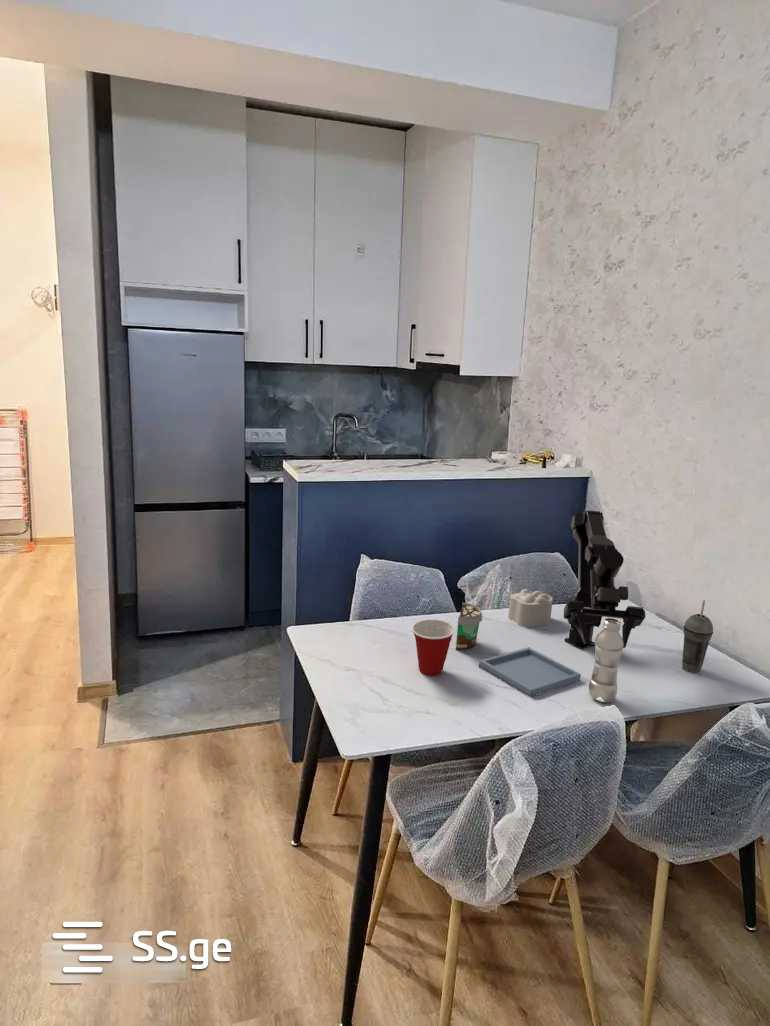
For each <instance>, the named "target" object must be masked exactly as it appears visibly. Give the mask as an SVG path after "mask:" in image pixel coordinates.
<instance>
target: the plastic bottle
mask: <svg viewBox="0 0 770 1026" xmlns="http://www.w3.org/2000/svg"><path fill="white" fill-rule="evenodd" d="M621 624H622V623H621V621H620V620H619V619H618V618H613V617H606V618H604V622H603V625H602V630H600V631H599V633H597V634H596V637H595V639H594V642H595V645H594V664H593V665H594V666H593V669H592V674H591V678H590V680H589V684H588V693H589V695H590V698H592V699H593V700H595V701H597V700H596V699H597V698H598V697H601V698H602V699H603V700H604V701H605V702H604V703H612V702H613V701H614V700H615V699H616V698H617V693H618V683H617V682H618V669H619V663H620V659H621V656H622V652H623V650H624V648H623V646H624V643H623V639H622V635H621V634H620V631H621Z"/></svg>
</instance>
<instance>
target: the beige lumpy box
mask: <svg viewBox="0 0 770 1026" xmlns="http://www.w3.org/2000/svg"><path fill="white" fill-rule="evenodd" d="M553 601H554V600H553V597H552V595H549V594H547V593H544V592H542V591H541V590H535V591H531V590H529V589H527V588H524V589H522V590H521V591H520V592H517V593H512V594H510V597H509V606H508V614H507V619H508V618H509V619H508V620H510V621H512V620H513V621H512V622H514V623H515V622H516V623H515V624H517V625H518V626H520V627H523V626H525V627H524V628H536V626H537V627H543V626H547V625H548V624H549V623H550V622H551V619H552V618H551V617H552V609H553Z"/></svg>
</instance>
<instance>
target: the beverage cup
mask: <svg viewBox="0 0 770 1026" xmlns="http://www.w3.org/2000/svg"><path fill="white" fill-rule="evenodd" d="M705 604H706V600H702V604H701V609H700V613H695V614H693V615H690V616H689V617H688V618H687V619H686V620H685V622H684V625H683V635H684V636H683V648H682V650H683V651H682V658H681V659H682V661H681V663H682V667H681V668H682V670H683V671H685V672H687V673H690V674H700V673H701V670H702V667H703V664H704V662H705V661H704V660H705V656H706V654H707V650H708V647H709V644H710V641H711V639H712V636H713V635H714V626H713V625H714V624H713V622H712V620H711V619H710V618H709V617H707V616H706V615H704V614H703V613H704V611H705V609H704V608H705Z"/></svg>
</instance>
